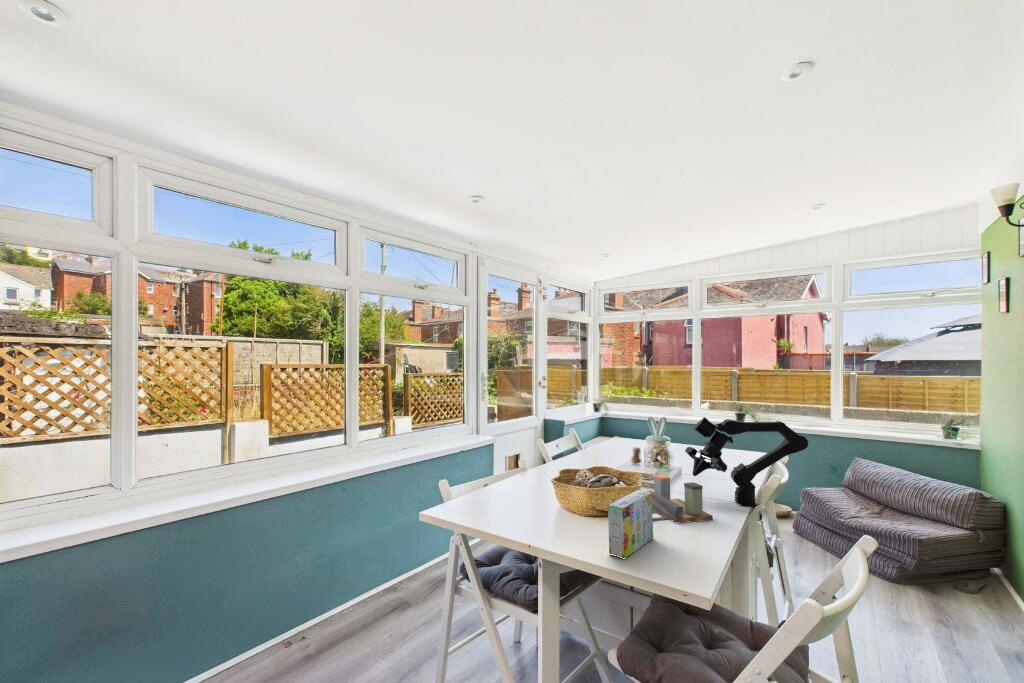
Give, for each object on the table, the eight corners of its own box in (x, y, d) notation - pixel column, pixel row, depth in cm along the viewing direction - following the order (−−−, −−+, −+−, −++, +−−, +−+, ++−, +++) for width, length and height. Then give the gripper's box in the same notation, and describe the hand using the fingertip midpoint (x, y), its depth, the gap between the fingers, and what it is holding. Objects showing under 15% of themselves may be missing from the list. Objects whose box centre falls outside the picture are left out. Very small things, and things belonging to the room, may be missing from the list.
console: (678, 502, 190) (677, 488, 190) (712, 519, 168) (712, 504, 168) (644, 504, 186) (644, 491, 187) (675, 523, 165) (675, 507, 165)
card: (650, 507, 182) (650, 506, 182) (669, 519, 169) (669, 517, 169) (631, 509, 181) (631, 508, 181) (649, 521, 167) (649, 519, 167)
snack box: (637, 535, 153) (637, 489, 154) (654, 539, 150) (653, 492, 151) (607, 555, 137) (607, 504, 138) (625, 560, 133) (624, 507, 134)
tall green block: (694, 509, 174) (693, 482, 175) (703, 514, 169) (702, 485, 170) (684, 510, 173) (684, 483, 174) (693, 515, 168) (692, 486, 169)
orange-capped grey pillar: (663, 500, 187) (663, 474, 187) (670, 503, 182) (670, 477, 182) (654, 500, 186) (653, 475, 186) (661, 504, 181) (660, 478, 181)
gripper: (744, 463, 184) (722, 495, 181) (709, 450, 202) (689, 478, 199) (728, 447, 181) (706, 478, 178) (695, 435, 198) (674, 463, 196)
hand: (693, 475), depth 188 cm, fingers closed
